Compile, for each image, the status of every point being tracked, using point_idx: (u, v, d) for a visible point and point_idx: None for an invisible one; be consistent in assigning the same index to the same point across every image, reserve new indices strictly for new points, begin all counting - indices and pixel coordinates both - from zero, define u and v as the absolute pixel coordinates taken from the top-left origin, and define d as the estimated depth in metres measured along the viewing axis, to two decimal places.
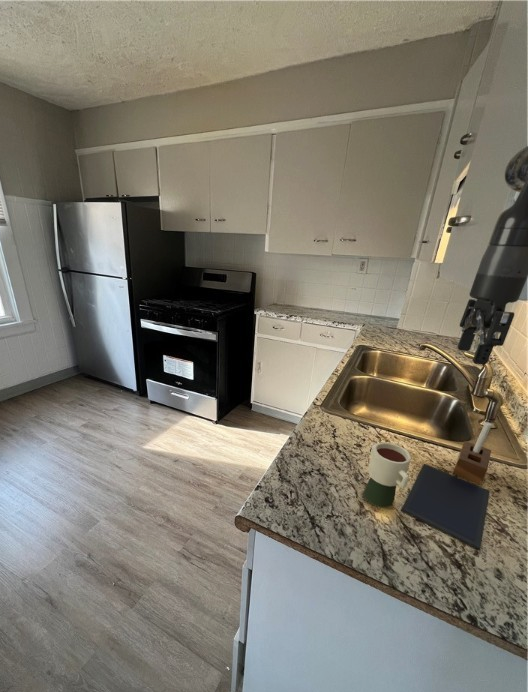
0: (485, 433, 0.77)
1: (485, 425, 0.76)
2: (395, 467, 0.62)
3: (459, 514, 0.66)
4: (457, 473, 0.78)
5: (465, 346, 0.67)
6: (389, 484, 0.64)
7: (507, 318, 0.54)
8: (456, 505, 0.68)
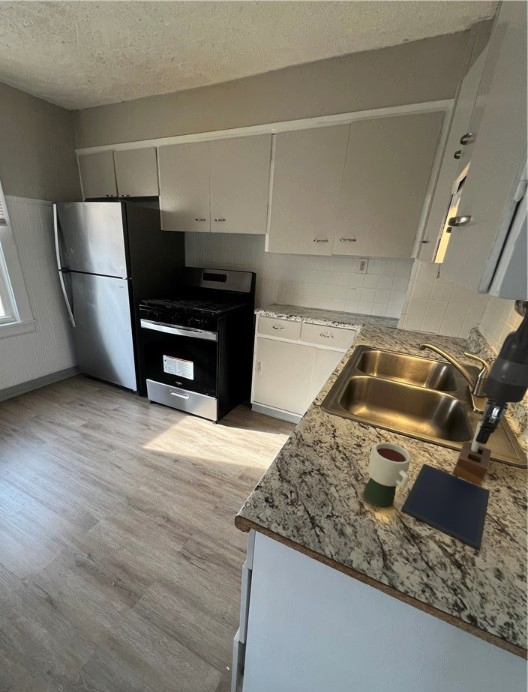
0: None
1: (479, 423, 0.77)
2: (395, 467, 0.62)
3: (459, 514, 0.66)
4: (457, 473, 0.78)
5: None
6: (389, 484, 0.64)
7: (493, 422, 0.70)
8: (456, 505, 0.68)
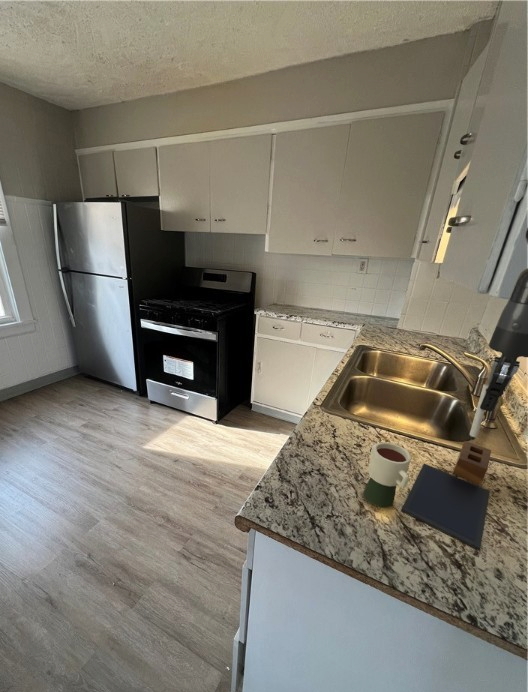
0: None
1: (484, 387, 0.64)
2: (395, 467, 0.62)
3: (459, 514, 0.66)
4: (457, 473, 0.78)
5: None
6: (389, 484, 0.64)
7: (502, 381, 0.58)
8: (456, 505, 0.68)
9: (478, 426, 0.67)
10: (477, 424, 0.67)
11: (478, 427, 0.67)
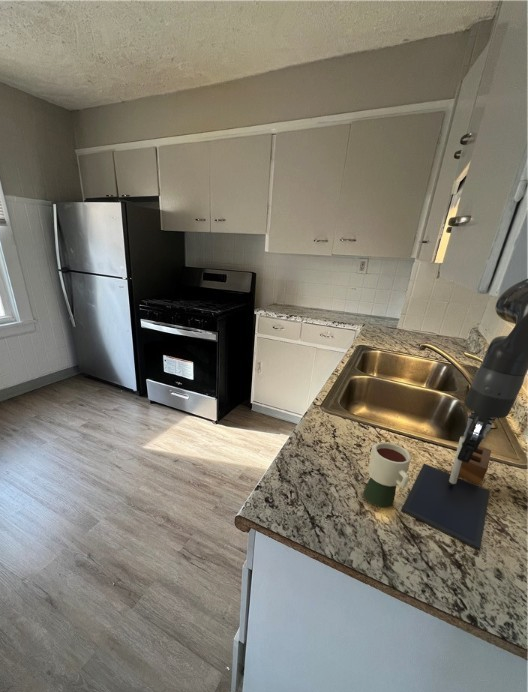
0: None
1: (461, 439, 0.69)
2: (395, 467, 0.62)
3: (459, 514, 0.66)
4: None
5: None
6: (389, 484, 0.64)
7: (476, 439, 0.62)
8: (456, 505, 0.68)
9: (456, 474, 0.72)
10: (455, 472, 0.71)
11: (456, 475, 0.72)
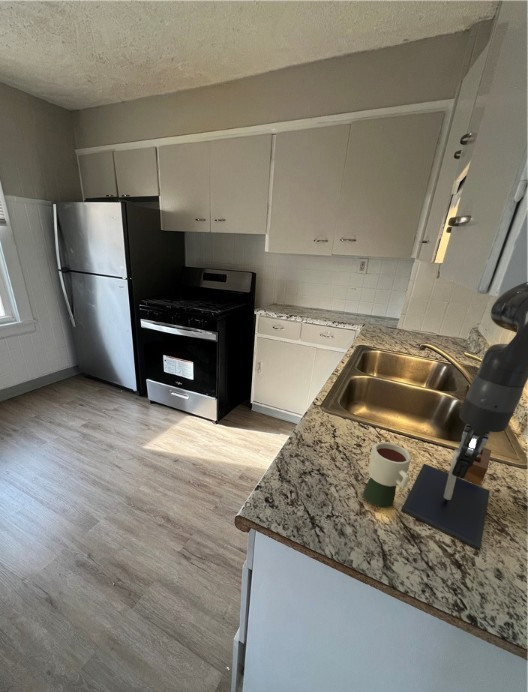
0: None
1: (455, 453, 0.64)
2: (395, 467, 0.62)
3: (459, 514, 0.66)
4: None
5: None
6: (389, 484, 0.64)
7: (471, 455, 0.58)
8: (456, 505, 0.68)
9: (451, 490, 0.67)
10: (450, 487, 0.67)
11: (451, 490, 0.67)
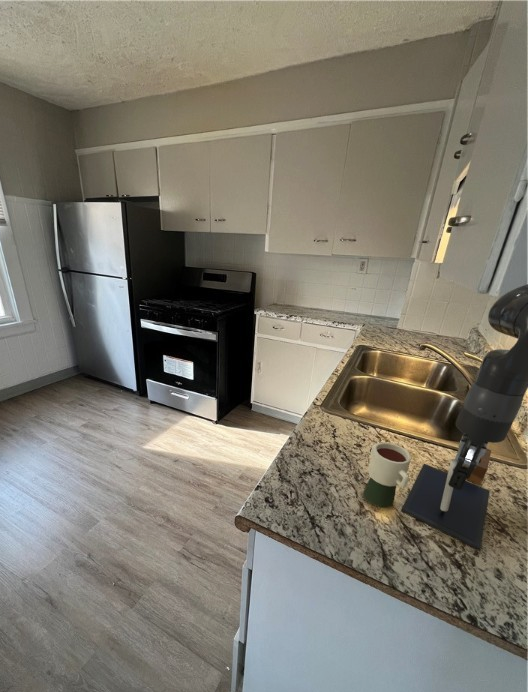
0: None
1: (451, 463, 0.61)
2: (395, 467, 0.62)
3: (459, 514, 0.66)
4: None
5: None
6: (389, 484, 0.64)
7: (468, 467, 0.55)
8: (456, 505, 0.68)
9: (448, 501, 0.64)
10: (447, 499, 0.64)
11: (448, 502, 0.64)
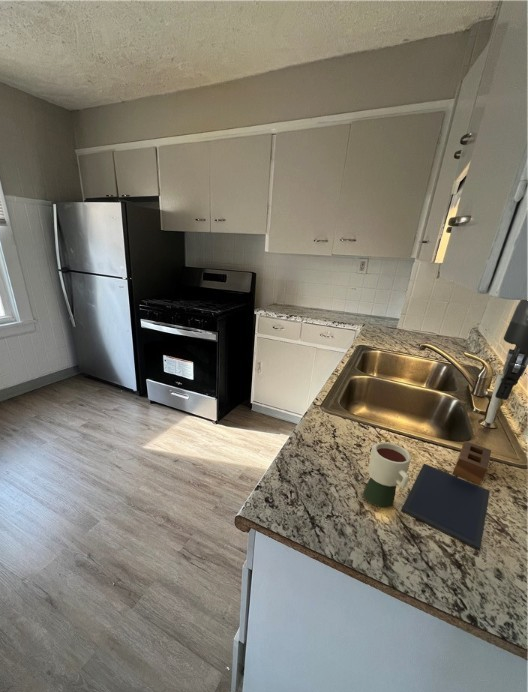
0: None
1: (498, 376, 0.70)
2: (395, 467, 0.62)
3: (459, 514, 0.66)
4: (457, 473, 0.78)
5: None
6: (389, 484, 0.64)
7: (518, 370, 0.63)
8: (456, 505, 0.68)
9: (493, 413, 0.73)
10: (493, 411, 0.73)
11: (493, 414, 0.73)
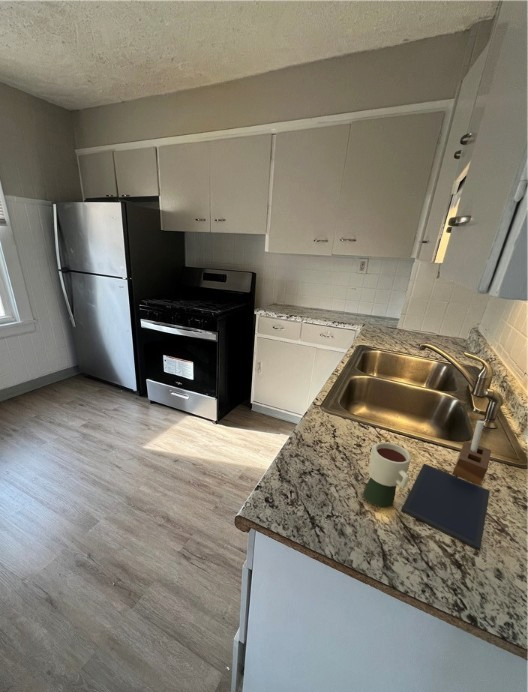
0: (479, 431, 0.77)
1: (477, 423, 0.77)
2: (395, 467, 0.62)
3: (459, 514, 0.66)
4: (457, 473, 0.78)
5: None
6: (389, 484, 0.64)
7: None
8: (456, 505, 0.68)
9: None
10: None
11: None
